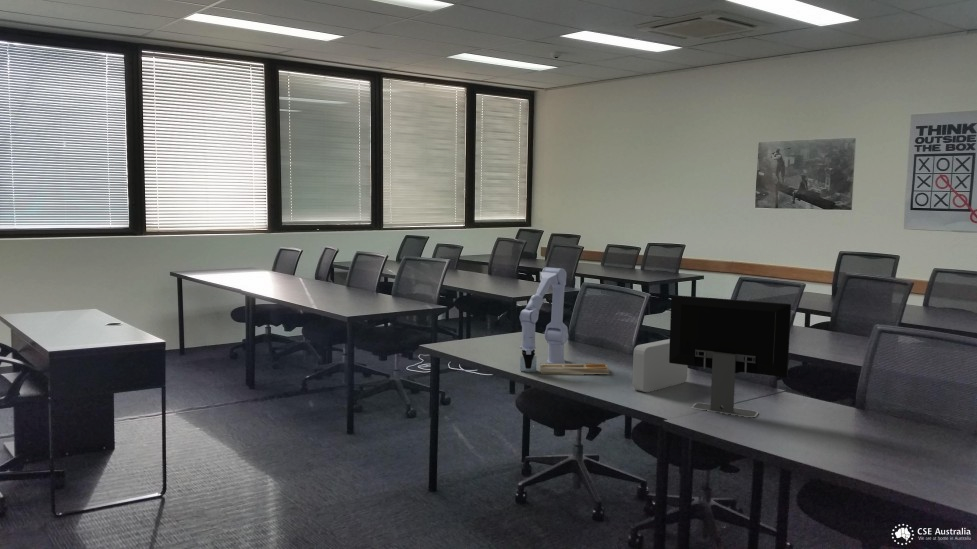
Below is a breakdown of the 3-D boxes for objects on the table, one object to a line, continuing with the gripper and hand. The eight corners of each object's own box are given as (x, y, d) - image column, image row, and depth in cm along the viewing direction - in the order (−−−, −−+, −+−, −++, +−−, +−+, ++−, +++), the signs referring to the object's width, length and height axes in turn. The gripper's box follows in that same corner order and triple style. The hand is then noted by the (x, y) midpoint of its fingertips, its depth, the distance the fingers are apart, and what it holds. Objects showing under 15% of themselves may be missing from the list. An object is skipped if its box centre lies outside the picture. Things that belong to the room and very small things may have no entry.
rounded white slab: (671, 378, 308) (673, 336, 306) (687, 382, 302) (688, 339, 300) (627, 389, 290) (628, 344, 288) (642, 393, 284) (644, 348, 282)
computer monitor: (786, 416, 256) (792, 303, 251) (782, 422, 248) (788, 306, 244) (670, 399, 276) (674, 294, 272) (664, 404, 269) (667, 296, 265)
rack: (540, 368, 323) (540, 362, 323) (606, 369, 322) (606, 363, 322) (540, 373, 314) (541, 367, 314) (609, 374, 313) (609, 368, 313)
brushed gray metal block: (520, 370, 321) (520, 355, 320) (536, 370, 320) (536, 356, 320) (520, 371, 318) (520, 357, 317) (536, 372, 318) (536, 357, 317)
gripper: (519, 333, 325) (519, 363, 326) (519, 339, 310) (519, 371, 312) (535, 333, 325) (534, 363, 326) (536, 340, 310) (535, 371, 312)
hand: (528, 367), depth 319 cm, fingers open, 3 cm apart
